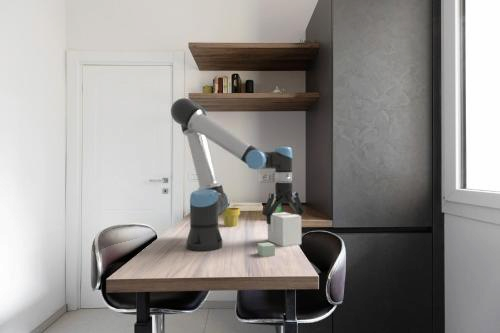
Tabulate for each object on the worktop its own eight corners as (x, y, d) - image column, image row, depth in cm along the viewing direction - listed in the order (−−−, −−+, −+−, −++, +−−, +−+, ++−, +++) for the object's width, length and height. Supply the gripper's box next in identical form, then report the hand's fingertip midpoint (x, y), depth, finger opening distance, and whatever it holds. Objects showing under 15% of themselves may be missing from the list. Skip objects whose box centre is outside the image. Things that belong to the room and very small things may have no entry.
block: (262, 257, 121) (262, 246, 121) (257, 253, 125) (257, 243, 125) (274, 255, 122) (274, 245, 122) (269, 252, 127) (269, 242, 127)
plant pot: (229, 228, 176) (229, 210, 176) (217, 225, 184) (217, 208, 184) (243, 225, 183) (243, 208, 183) (232, 223, 191) (232, 206, 191)
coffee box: (268, 220, 201) (268, 199, 201) (267, 219, 203) (267, 198, 203) (281, 220, 202) (281, 198, 202) (280, 219, 205) (280, 198, 205)
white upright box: (283, 246, 136) (282, 217, 136) (267, 240, 148) (267, 213, 148) (301, 244, 140) (301, 216, 140) (285, 238, 152) (284, 212, 152)
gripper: (262, 183, 135) (263, 234, 135) (311, 181, 146) (312, 229, 146) (254, 182, 142) (254, 231, 142) (302, 181, 153) (302, 226, 153)
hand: (283, 230), depth 144 cm, fingers open, 13 cm apart
